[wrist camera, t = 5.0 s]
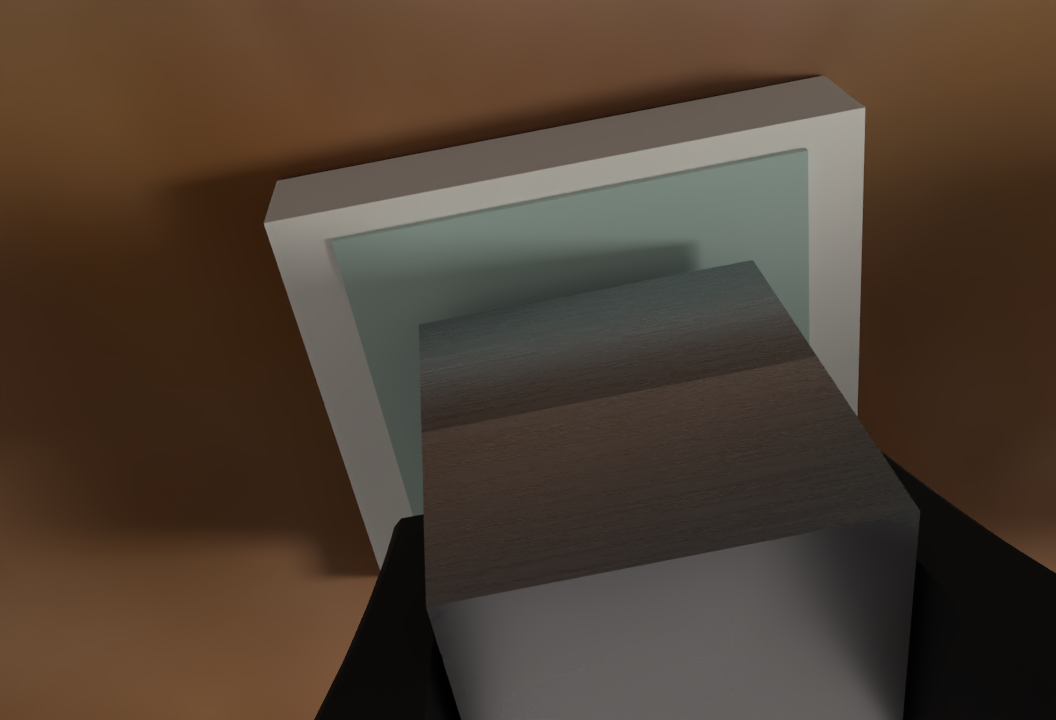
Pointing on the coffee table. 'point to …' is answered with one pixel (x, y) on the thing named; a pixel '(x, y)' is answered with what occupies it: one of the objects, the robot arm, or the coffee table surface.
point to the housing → (658, 513)
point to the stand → (562, 246)
